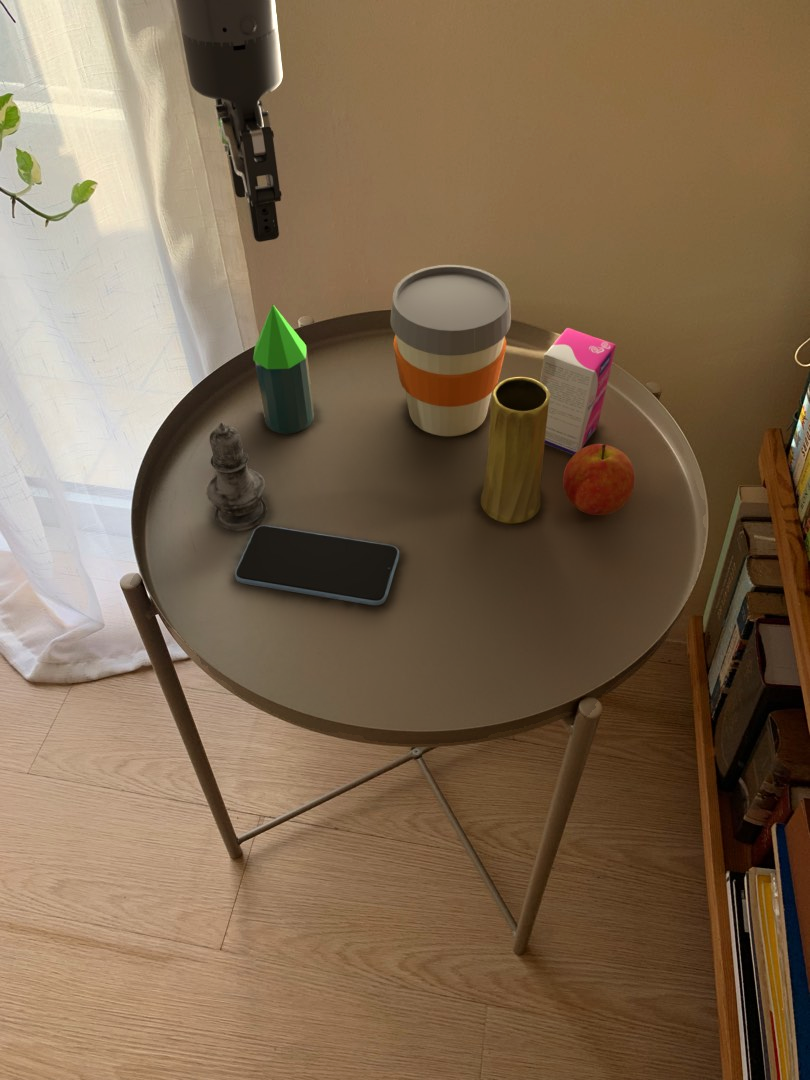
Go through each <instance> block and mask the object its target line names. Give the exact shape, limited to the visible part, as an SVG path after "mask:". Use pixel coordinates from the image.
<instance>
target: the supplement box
mask: <svg viewBox="0 0 810 1080" xmlns="http://www.w3.org/2000/svg"><path fill="white" fill-rule="evenodd" d="M616 347H617V345H616V344H615V343H614V342H611V341H610V342H609V341H608V340H603V339H601V338H599V337H595V336H592V335H589V334H587V333H583V332H581V331H578V330H576V329H572V328H571V327H567V328H565V330H564V331H563V332H562V333H561V334H560V335H559V336H558V338H557V339H556V340H555V341H554V343H552V345H551V346H550V347H549V349H548V350H547V351H546V352H545V353H544V355H543V360H542V366H541V373H540V379H539V382H540V383H542V384H543V385H544V386H545V387H546V388H547V389H548V391H549V393H550V400H549V406H548V416H547V423H546V433H545V443H544V445H547V446H549V447H551V448H552V447H553V448H555V449H557V450H560V451H562V452H565V453H568V454H570V455H572V456H574V454H575V453H576V452H578V451H579V450H581V449H582V448H584V445H585V444H586V443H587V442H588V440H589V439H590V437H591V436H592V435H593V433H594V432H596V430H597V429H598V426H599V424H600V419H601V414H602V410H603V405H604V400H605V396H606V391H607V387H608V382H609V377H610V374H611V368H612V364H613V361H614V356H615V351H616Z"/></svg>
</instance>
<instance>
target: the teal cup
mask: <svg viewBox="0 0 810 1080" xmlns="http://www.w3.org/2000/svg"><path fill="white" fill-rule="evenodd" d="M253 356H254V353H253V355H252V357H253ZM253 363H254V367H255V373H256V380H257V386H258V390H259V391H258V392H259V397H260V403H261V408H262V409H261V410H262V414H263V417H264V423H265V425H266V426H267V427H268V428H269V429H270V430H271V431H273V432H275V433H279V434H289V435H290V434H295V433H299V432H301V431H304V430H306V429H307V428H309V426H310V425H311V424H312V423H313V421H314V418H315V409H314V399H313V392H312V384H311V375H310V368H309V367H310V366H309V359H308V350H307V349H306V358H305V359H304V360H302V361H301V362H299V363H298V364H296V365H294V366H293V367H291V368H289V369H266V368H264V367H263V366H261V365H260V364H258V363H257V362H255V361H253Z"/></svg>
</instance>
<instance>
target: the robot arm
mask: <svg viewBox="0 0 810 1080" xmlns="http://www.w3.org/2000/svg"><path fill="white" fill-rule="evenodd" d="M175 4H176V9H177V15H178V21H179V26H180V32H181V37H182V42H183V43H182V44H183V48H184V49H183V50H184V53H185V54H184V55H185V60H186V66H187V71H188V77H189V82H190V85H191V87H192V89H193V90H194V91H195V92H197V93H198V94H200V95H201V96H202V97H203V96H204V97H206V98H209V99H212V100H215V105H214V113H215V117H216V121H217V125H218V132H219V136H220V140H221V143H222V144H223V149H224V152H226V156H228V161H229V166H230V172H231V179H232V184H233V191H234V194H235V196H236V197H237V198H239V199H242V198H245V199H246V200H247V204H248V211H249V217H250V223H251V231H252V235H253V238H254V240H255V241H256V242H258V243H261V242H268V241H273V240H274V241H275V240H277V239H278V238H279V236H280V229H279V222H278V215H277V205H276V203H277V202H281V201H282V190H281V188H280V180H279V174H278V164H277V157H276V150H275V149H276V148H275V143H274V137H275V133H274V130H272V125H271V120H270V116H269V112H268V110H264V105H263V101H262V99H261V98H263V96H265V95H267V94H268V93H272V92H273V91H275V90H276V89H277V88H278V87H279V86H280V85H281V83H282V80H283V76H284V75H283V65H282V64H283V63H282V55H281V45H280V35H279V27H278V17H277V8H276V0H175ZM262 176H263V177H264V176H265V181H266V184H262V185H259V184H258V183H259V182H258V177H262Z"/></svg>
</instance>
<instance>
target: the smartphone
mask: <svg viewBox="0 0 810 1080" xmlns="http://www.w3.org/2000/svg"><path fill="white" fill-rule="evenodd" d="M399 559H400V550H399V549H398V548H397V547H396V546H394V545H392V544H387V543H379V542H374V541H373V542H372V541H367V540H361V539H354V538H347V537H341V536H334V535H329V534H324V533H323V534H322V533H315V532H311V531H304V530H297V529H288V528H284V527H278V526H271V525H260V526H256V528H255V529H254V530H253V531H252V534H251V536H250V537H249V540H248V542H247V545H246V546H245V549H244V551H243V553H242V556H241V557H240V560H239V561H238V564H237V566H236V569H235V571H234V575H235V579H236V581H237V582H239V583H241V584H245V585H251V586H256V587H263V588H268V589H274V590H280V591H286V592H293V593H297V594H303V595H309V596H316V597H321V598H326V599H332V600H340V601H344V602H350V603H358V604H363V605H369V606H380V605H383V604H384V603H385V602H386V600H387V598H388V595H389V593H390V588H391V586H392V582H393V579H394V576H395V572H396V569H397V566H398V563H399Z"/></svg>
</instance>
